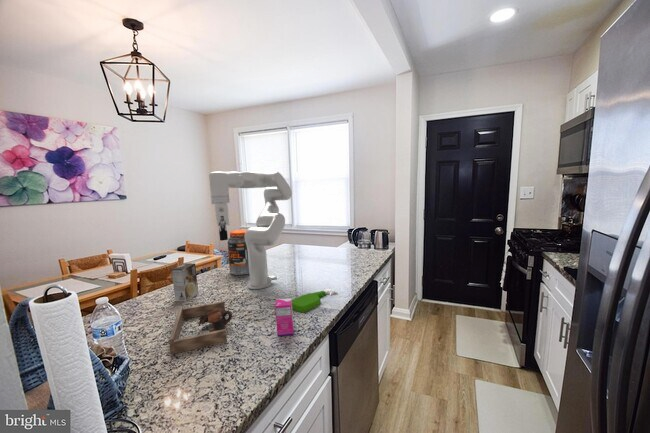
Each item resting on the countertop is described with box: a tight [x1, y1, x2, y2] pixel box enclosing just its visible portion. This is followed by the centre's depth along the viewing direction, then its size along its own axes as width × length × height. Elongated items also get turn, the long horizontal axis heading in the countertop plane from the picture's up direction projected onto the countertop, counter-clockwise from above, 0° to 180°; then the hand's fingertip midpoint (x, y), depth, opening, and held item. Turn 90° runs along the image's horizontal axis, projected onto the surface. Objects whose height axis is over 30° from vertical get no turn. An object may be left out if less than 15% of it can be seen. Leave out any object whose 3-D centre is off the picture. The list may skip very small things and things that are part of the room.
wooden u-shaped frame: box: [168, 300, 228, 355], centre depth 102 cm, size 17×26×5 cm, turn 22°
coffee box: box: [171, 262, 199, 302], centre depth 132 cm, size 9×6×16 cm
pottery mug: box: [198, 309, 233, 333], centre depth 103 cm, size 12×10×8 cm
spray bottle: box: [292, 288, 339, 313], centre depth 124 cm, size 3×11×24 cm
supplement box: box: [274, 297, 295, 337], centre depth 97 cm, size 6×6×12 cm
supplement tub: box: [227, 229, 249, 276], centre depth 169 cm, size 16×16×26 cm
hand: (223, 238), depth 121 cm, fingers open, 9 cm apart
